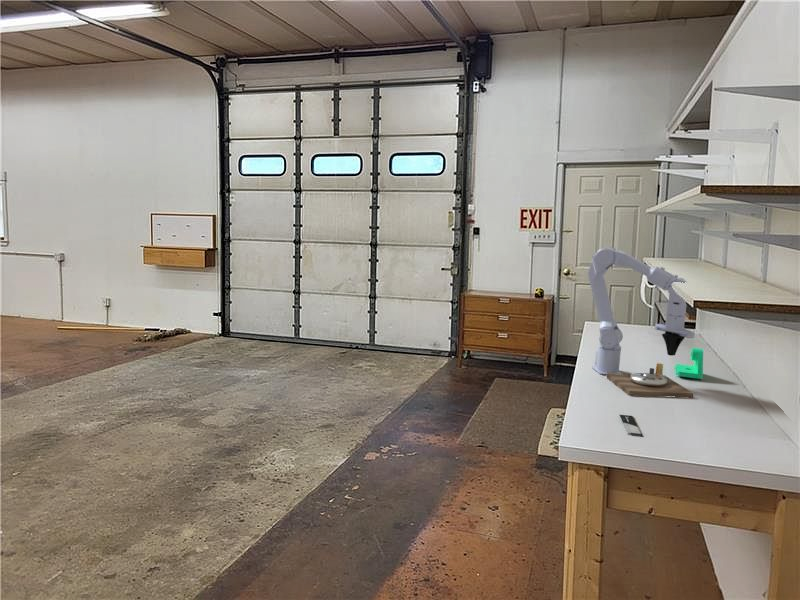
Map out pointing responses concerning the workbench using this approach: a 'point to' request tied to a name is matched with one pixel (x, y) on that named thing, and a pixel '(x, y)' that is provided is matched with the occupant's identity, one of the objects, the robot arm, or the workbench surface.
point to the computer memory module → (631, 425)
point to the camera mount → (694, 370)
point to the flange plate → (650, 377)
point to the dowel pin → (651, 371)
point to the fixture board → (648, 387)
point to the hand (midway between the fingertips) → (671, 355)
